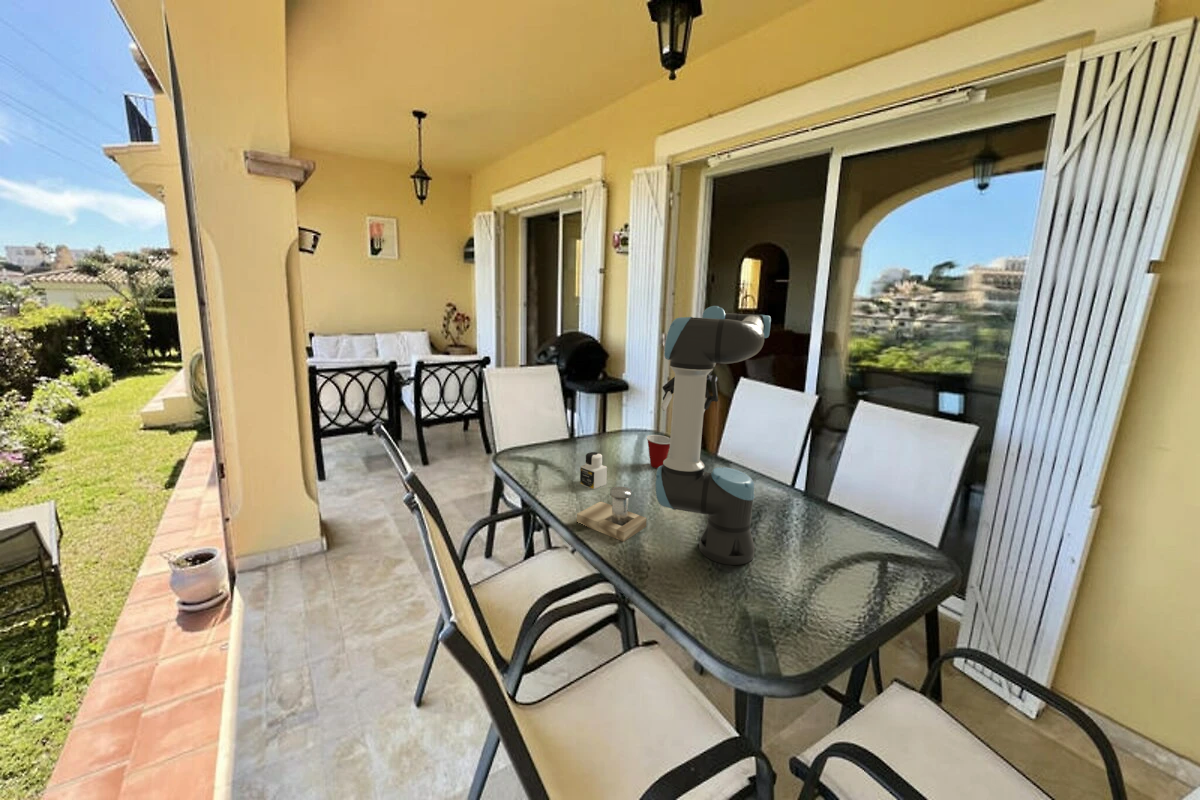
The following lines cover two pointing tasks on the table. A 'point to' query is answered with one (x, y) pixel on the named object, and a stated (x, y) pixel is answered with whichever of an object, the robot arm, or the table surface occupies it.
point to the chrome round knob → (620, 504)
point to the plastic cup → (658, 449)
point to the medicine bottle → (593, 471)
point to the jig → (610, 521)
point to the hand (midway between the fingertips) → (680, 412)
